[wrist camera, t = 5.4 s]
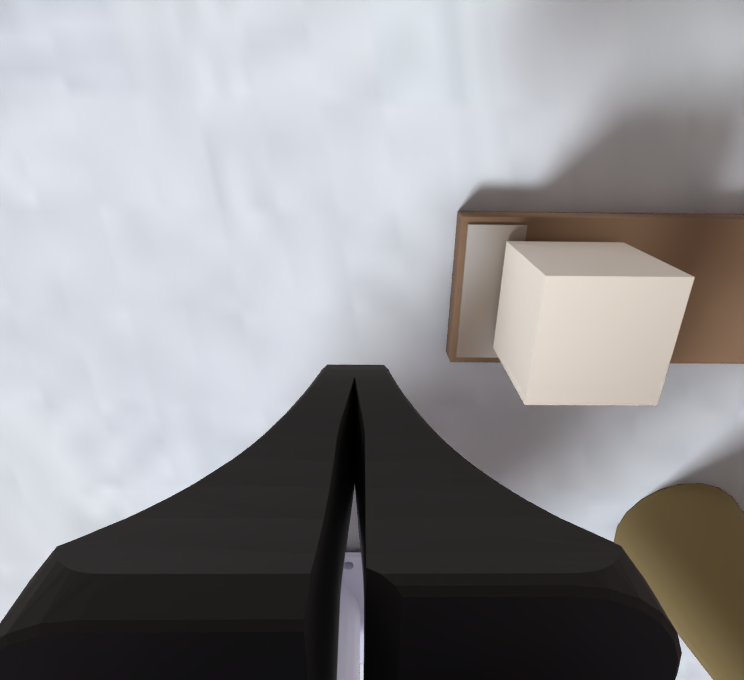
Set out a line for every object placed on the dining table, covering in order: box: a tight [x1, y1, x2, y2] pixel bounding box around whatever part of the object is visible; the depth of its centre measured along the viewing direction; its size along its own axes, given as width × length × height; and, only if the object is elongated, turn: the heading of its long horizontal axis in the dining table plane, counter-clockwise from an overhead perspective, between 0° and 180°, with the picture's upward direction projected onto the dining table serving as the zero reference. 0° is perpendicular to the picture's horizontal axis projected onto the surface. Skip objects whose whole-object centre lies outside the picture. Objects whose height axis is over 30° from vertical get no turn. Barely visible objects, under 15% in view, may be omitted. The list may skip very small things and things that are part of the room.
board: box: [446, 211, 744, 364], centre depth 18 cm, size 15×6×1 cm, turn 89°
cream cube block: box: [493, 241, 695, 406], centre depth 16 cm, size 4×4×4 cm
